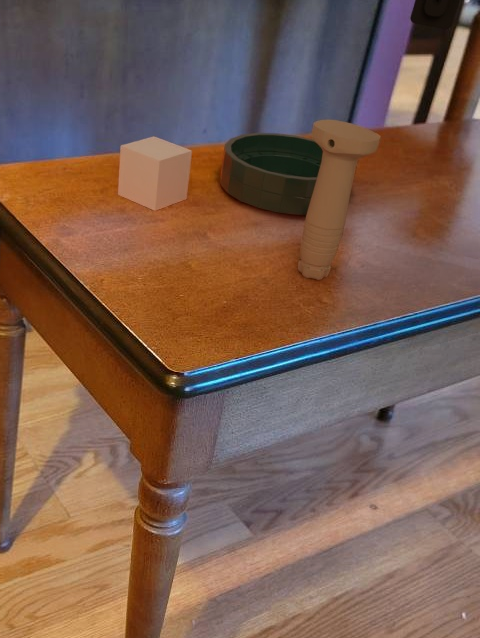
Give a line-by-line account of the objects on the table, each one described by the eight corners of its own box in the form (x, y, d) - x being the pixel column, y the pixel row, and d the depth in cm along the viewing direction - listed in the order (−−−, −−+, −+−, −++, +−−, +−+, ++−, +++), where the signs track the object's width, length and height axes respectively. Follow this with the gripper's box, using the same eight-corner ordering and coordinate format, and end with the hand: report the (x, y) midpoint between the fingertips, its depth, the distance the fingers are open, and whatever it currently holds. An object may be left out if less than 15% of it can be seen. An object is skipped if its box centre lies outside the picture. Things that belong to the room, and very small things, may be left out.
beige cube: (117, 195, 90) (120, 145, 86) (149, 184, 94) (153, 136, 90) (155, 211, 87) (159, 160, 84) (186, 199, 91) (192, 150, 88)
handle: (300, 256, 81) (331, 116, 72) (350, 279, 78) (389, 135, 69) (274, 268, 78) (304, 124, 69) (325, 292, 75) (363, 145, 66)
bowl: (355, 186, 101) (364, 150, 98) (335, 231, 88) (345, 190, 85) (238, 160, 104) (244, 124, 101) (203, 199, 91) (208, 159, 88)
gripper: (586, -270, 44) (478, 43, 54) (560, -233, 57) (478, 12, 68) (458, -285, 45) (376, 23, 55) (462, -245, 59) (396, -3, 69)
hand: (432, 17), depth 62 cm, fingers open, 9 cm apart
